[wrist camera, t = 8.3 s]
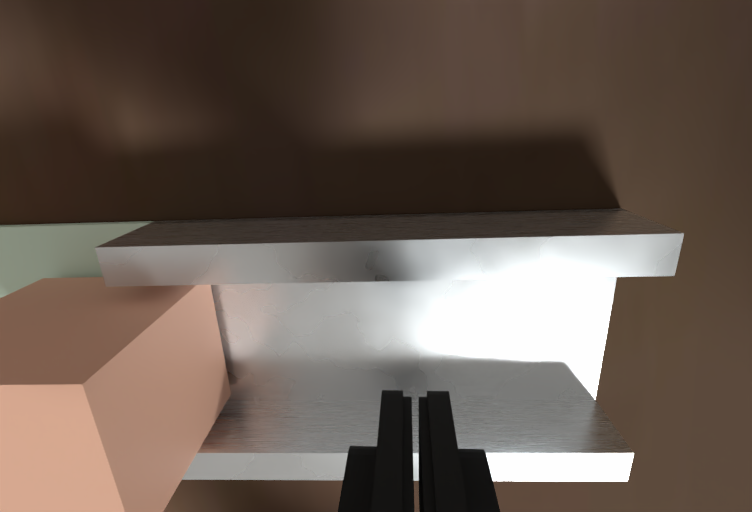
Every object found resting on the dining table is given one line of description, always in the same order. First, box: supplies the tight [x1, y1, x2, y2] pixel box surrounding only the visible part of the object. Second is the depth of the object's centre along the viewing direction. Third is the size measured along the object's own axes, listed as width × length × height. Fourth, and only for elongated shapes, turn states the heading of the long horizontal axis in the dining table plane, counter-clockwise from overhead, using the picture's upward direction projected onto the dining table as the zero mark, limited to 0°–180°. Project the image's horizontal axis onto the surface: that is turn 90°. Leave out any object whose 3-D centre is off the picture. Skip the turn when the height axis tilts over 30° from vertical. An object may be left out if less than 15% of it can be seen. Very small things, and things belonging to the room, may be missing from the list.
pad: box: [0, 221, 154, 298], centre depth 15 cm, size 7×9×1 cm
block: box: [0, 277, 231, 512], centre depth 12 cm, size 6×5×6 cm
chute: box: [95, 208, 684, 481], centre depth 14 cm, size 16×9×3 cm, turn 92°
